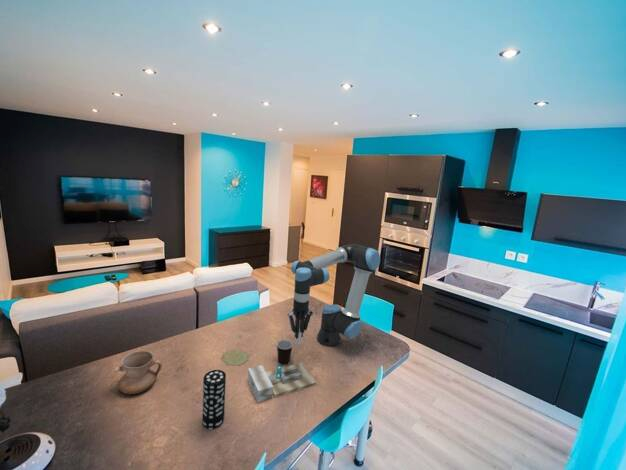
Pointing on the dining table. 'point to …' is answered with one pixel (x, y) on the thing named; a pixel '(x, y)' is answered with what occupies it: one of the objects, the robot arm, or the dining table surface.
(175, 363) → the dining table surface
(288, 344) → the coffee mug
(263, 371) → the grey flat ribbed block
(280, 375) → the bolt
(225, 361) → the sand dollar
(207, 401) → the white-spotted black cylinder
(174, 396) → the dining table surface
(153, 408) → the dining table surface
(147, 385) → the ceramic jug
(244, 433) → the dining table surface
